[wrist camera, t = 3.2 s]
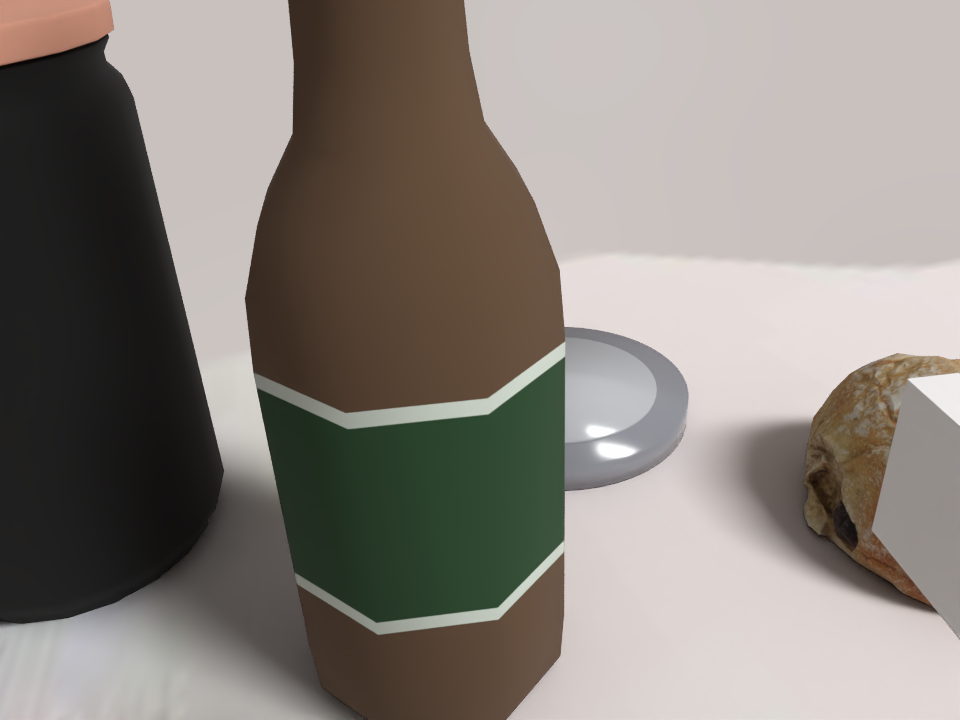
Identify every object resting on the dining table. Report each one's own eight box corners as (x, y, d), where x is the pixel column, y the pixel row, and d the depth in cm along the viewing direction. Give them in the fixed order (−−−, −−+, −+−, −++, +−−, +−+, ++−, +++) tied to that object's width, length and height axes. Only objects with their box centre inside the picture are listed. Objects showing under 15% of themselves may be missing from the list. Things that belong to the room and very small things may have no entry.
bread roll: (773, 530, 36) (717, 400, 31) (977, 393, 36) (950, 245, 31) (961, 723, 27) (921, 584, 23) (1224, 544, 28) (1235, 373, 23)
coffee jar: (15, 446, 37) (-159, -5, 28) (260, 441, 36) (163, -21, 27) (-150, 641, 28) (-489, 60, 19) (176, 638, 27) (-12, 39, 18)
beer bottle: (278, 611, 28) (68, -319, 16) (485, 526, 31) (440, -304, 19) (373, 806, 22) (154, -443, 10) (618, 675, 25) (672, -392, 13)
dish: (509, 526, 31) (508, 497, 30) (390, 389, 40) (387, 364, 39) (742, 433, 35) (746, 406, 35) (589, 328, 44) (590, 304, 43)
